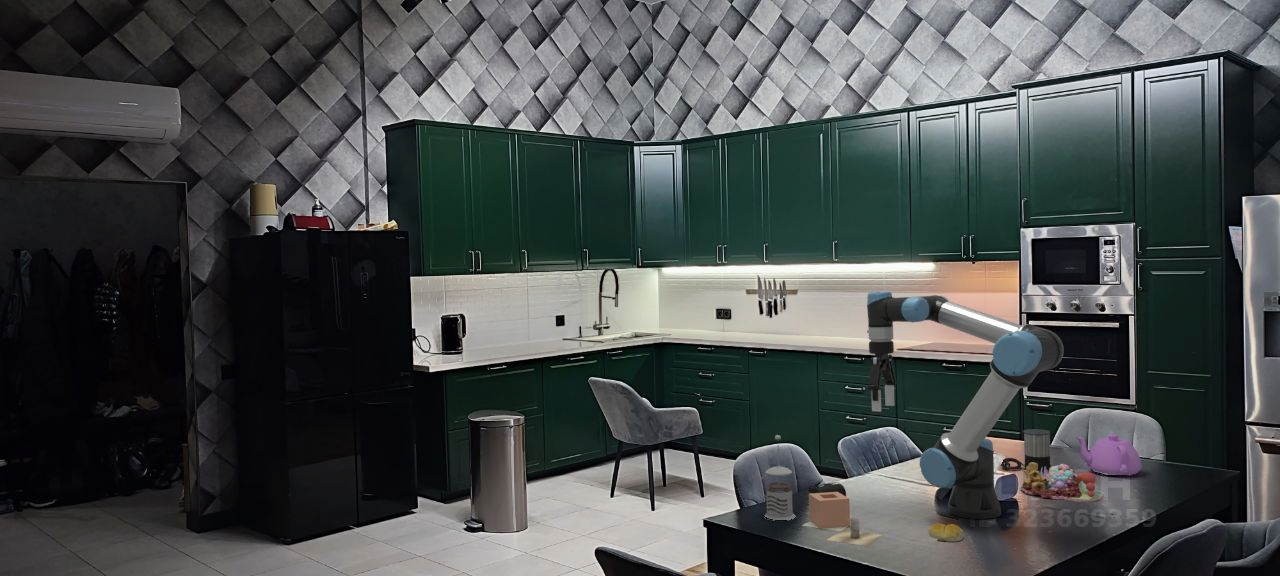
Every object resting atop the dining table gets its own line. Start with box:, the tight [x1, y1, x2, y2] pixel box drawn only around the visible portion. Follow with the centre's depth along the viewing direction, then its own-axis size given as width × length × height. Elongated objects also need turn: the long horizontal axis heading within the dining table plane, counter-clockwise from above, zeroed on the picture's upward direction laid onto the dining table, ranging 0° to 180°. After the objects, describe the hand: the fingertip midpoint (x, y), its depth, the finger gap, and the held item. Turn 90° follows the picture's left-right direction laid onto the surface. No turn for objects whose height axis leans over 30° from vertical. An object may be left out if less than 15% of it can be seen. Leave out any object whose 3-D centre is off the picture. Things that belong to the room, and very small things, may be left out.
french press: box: [757, 434, 797, 521], centre depth 280 cm, size 10×12×25 cm
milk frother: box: [1000, 428, 1052, 473], centre depth 333 cm, size 14×16×15 cm
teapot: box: [1073, 433, 1142, 475], centre depth 325 cm, size 22×22×14 cm
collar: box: [808, 492, 851, 530], centre depth 268 cm, size 9×9×8 cm
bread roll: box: [928, 522, 964, 543], centre depth 252 cm, size 8×9×4 cm
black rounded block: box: [807, 482, 847, 497], centre depth 291 cm, size 10×7×7 cm
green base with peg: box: [801, 520, 850, 532], centre depth 268 cm, size 12×12×7 cm
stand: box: [825, 517, 885, 547], centre depth 253 cm, size 12×12×6 cm
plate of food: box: [1019, 462, 1105, 502], centre depth 300 cm, size 25×24×9 cm
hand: (883, 408), depth 286 cm, fingers open, 13 cm apart
